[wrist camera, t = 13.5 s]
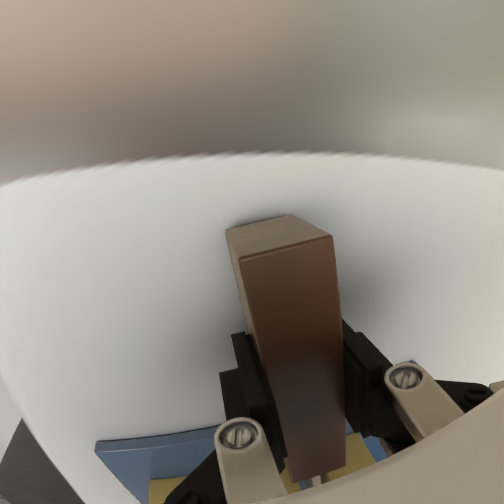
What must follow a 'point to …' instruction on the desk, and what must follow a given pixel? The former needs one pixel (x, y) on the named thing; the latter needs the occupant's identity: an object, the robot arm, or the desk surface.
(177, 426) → the desk surface
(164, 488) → the butter bar
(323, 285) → the knife
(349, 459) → the butter pat
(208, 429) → the butter plate
